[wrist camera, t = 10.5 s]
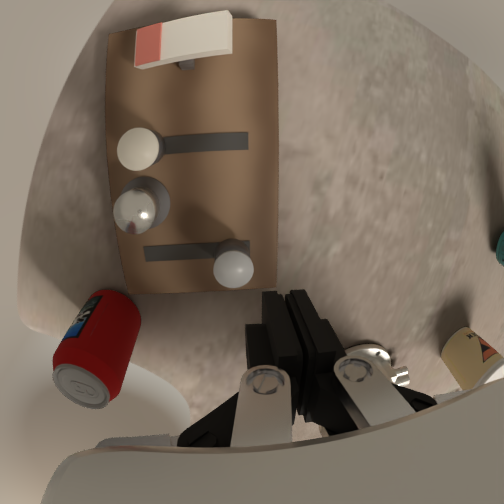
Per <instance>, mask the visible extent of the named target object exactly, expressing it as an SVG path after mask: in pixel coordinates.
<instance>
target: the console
mask: <svg viewBox="0 0 504 504" xmlns="http://www.w3.org/2000/svg"><path fill="white" fill-rule="evenodd" d="M145 27H147V26H145ZM140 28H143V27H139V28H134V29H129V30H125V31H121V32H116V33H112V34H109V38H108V49H107V63H106V86H105V123H106V147H107V162H108V174H109V184H110V193H111V201H112V209H114V205H115V202H116V200H117V199H118V198H119V197H120V196H121V195H122V194H124V193H125V192H127V191H129V190H130V189H132V188H134V187H138V186H142V187H147V188H149V189H151V190H152V191H153V192H154V193H155V194H156V195H157V197H158V199H159V202H160V212H159V215H158V217H157V218H156V220H155V221H154V222H153V224H152V225H151V226H150V228H149V229H148V230H146V231H145V232H143V233H141V234H129V233H126V232H125V231H123V230H122V229H121V228H120V227H119V226H118V225H117V223H116V222H115V219H114V223H115V229H116V235H117V241H118V247H119V252H120V257H121V262H122V267H123V272H124V277H125V281H126V286H127V290H128V294H158V293H185V292H207V291H226V290H243V289H258V288H273V287H276V283H277V246H278V180H279V123H278V61H277V28H276V20H270V19H247V18H232V54H225V55H216V56H209V57H202V58H195V59H189V60H184V61H178V62H173V63H168V64H164V65H159V66H155V67H151V68H147V69H139V68H136V67H134V59H135V42H136V31H137V29H140ZM133 128H145V129H149V130H154V131H157V132H158V133H160V134H161V135H162V136H163V138H164V140H165V144H166V150H165V153H164V156H163V157H162V159H161V160H160V161H159V162H158V163H156V164H154V165H152V166H149V167H148V168H146V169H143V170H139V171H133V170H129V169H127V168H126V167H124V166H123V165H122V164H121V162H120V161H119V158H118V155H117V146H118V143H119V140H120V139H121V137H122V136H123V135H124V134H125V133H126V132H127V131H129V130H131V129H133ZM113 216H114V215H113ZM226 239H238V240H240V241H242V242H243V243H244V244H245V245H246V246H247V248H248V251H249V254H250V258H251V261H252V263H253V268H254V272H253V275H252V278H251V279H250V281H249V282H248V283H246V284H245V285H243V286H241V287H238V288H228V287H225V286H223V285H221V284H220V283H219V282H218V281H217V280H216V278H215V276H214V272H213V268H214V257H215V250H216V247H217V246H218V245H219V244H220V243H221V242H222V241H224V240H226Z"/></svg>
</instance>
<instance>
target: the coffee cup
mask: <svg viewBox="0 0 504 504" xmlns="http://www.w3.org/2000/svg"><path fill="white" fill-rule="evenodd" d="M441 358H442V360H443V361H444V363H445V364H446V366H447V367H448V369H449V370H450V372H451V373H452V375H453V376H454V378H455V379H456V381H457V382H458V384H459V385H460V387H461V388H462V390H469V389H474V388H476V387H479V386H481V385H484V384H486V383H488V382H491V381H494V380H497V379H500V378H503V377H504V358H503V357H502V356H501V355H500V354H499V353H498V352H497V351H496V350H495V349H494V348H492V347H491V346H490V345H489V344H488V343H487V342H485V341H484V340H483V339H482V338H481V337H480V336H478V335H477V334H476V333H475V332H473V331H472V330H471V329H470V328H468V327H463V328H461V329H459V330H458V331H457V332H455V333H454V334H453V335H452V336H451V337H450V338H449V340H448V341H447V342H446V344H445V345H444V347H443V349H442V352H441Z"/></svg>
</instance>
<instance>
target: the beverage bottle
mask: <svg viewBox="0 0 504 504" xmlns="http://www.w3.org/2000/svg"><path fill="white" fill-rule="evenodd" d="M496 258H497V260H498V262H499V263H500V264H502V266H504V231H503V233H502V234H501V236H500V238H499V241H498V244H497V249H496Z"/></svg>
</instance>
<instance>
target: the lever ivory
mask: <svg viewBox="0 0 504 504" xmlns="http://www.w3.org/2000/svg"><path fill="white" fill-rule="evenodd" d="M165 150H166V144H165V140H164V138H163V136H162V135H161V134H160V133H158V132H157V131H154V130H149V129H145V128H133V129H131V130H129V131H127V132H126V133H125V134H124V135H123V136H122V137H121V139H120V140H119V143H118V146H117V155H118V158H119V161H120V162H121V164H122V165H123V166H124V167H126V168H127V169H129V170H133V171H139V170H143V169H146V168H148V167H149V166H152V165H154V164H156V163H158V162H159V161H160V160H161V159H162V157H163V156H164V153H165Z"/></svg>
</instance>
